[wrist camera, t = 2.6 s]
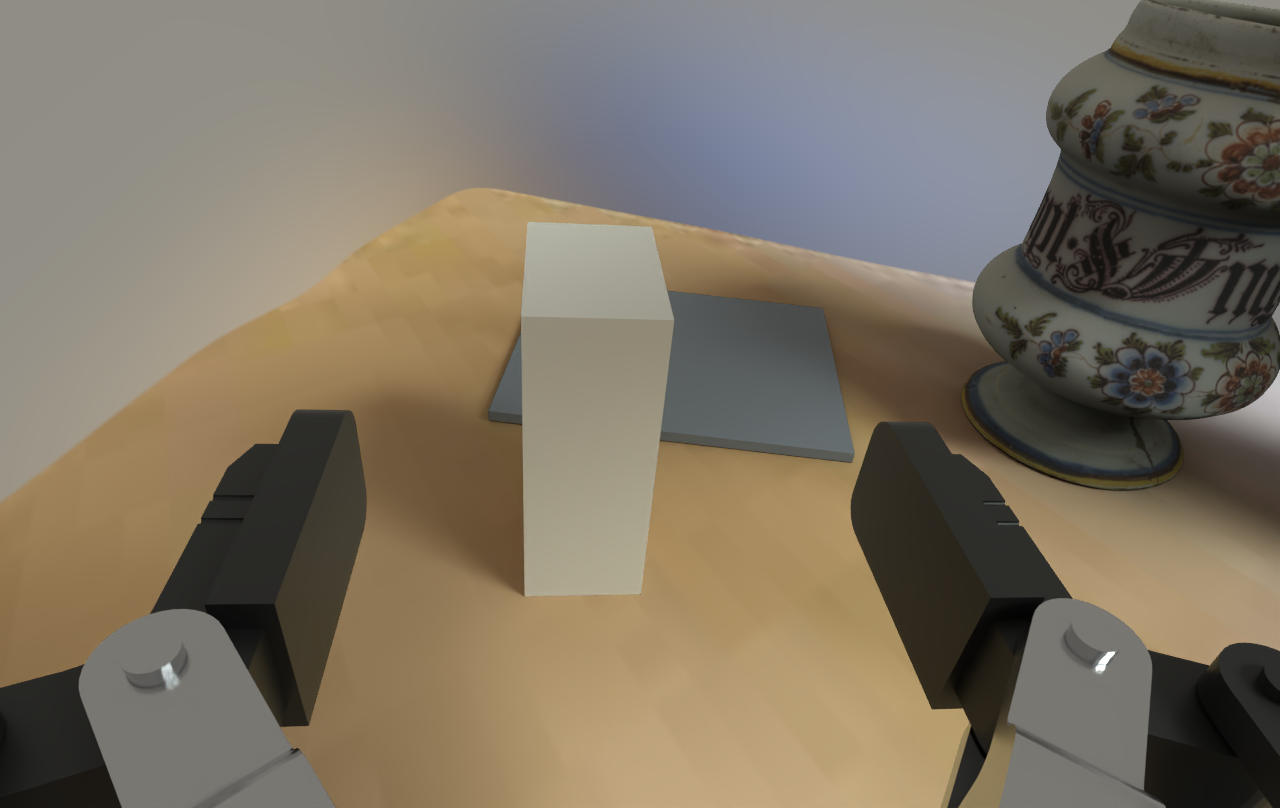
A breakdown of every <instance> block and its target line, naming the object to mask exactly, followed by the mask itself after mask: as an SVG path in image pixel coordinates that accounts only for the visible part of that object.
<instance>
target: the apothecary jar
mask: <svg viewBox="0 0 1280 808" xmlns="http://www.w3.org/2000/svg"><path fill="white" fill-rule="evenodd" d="M1046 122H1047V127H1048V130H1049V132H1050V135H1051V136H1052V138H1053V139H1054V141H1055V142H1056V143H1057V145H1058V146H1059V147H1060V148H1061V153H1060V157H1059V160H1058V163H1057V166H1056V169H1055V171H1054V174H1053V177H1052V179H1051V182H1050V184H1049V187H1048V189H1047V191H1046V193H1045V196H1044V198H1043V200H1042V203H1041V205H1040V207H1039V209H1038V212H1037V214H1036V216H1035V218H1034V220H1033V222H1032V224H1031V226H1030V228H1029V231H1028V233H1027V235H1026V237H1025V239H1024V241H1023V243H1022V244H1019V245H1017V246H1014V247H1012V248H1010V249H1008V250H1006V251H1004V252H1002V253H1001V254H999V255H998V256H996V257H995V258H994V259H993V260H992V261H990V262H989V263H988V264H987V266H986V267H985V268H984V269H983V271H982V272H981V274H980V275H979V277H978V279H977V281H976V284H975V287H974V291H973V301H972V304H973V312H974V316H975V319H976V321H977V324H978V326H979V328H980V330H981V332H982V334H983V335H984V337H985V339H986V340H987V341H988V343H989V344H990V345H991V346H992V348H993V349H994V350H995V351H996V352H997V353H998V354H999V355H1000V356H1001V357H1002V358H1003V359H1004V360H1006V361H1005V362H999V363H995V364H992V365H989V366H986V367H984V368H982V369H980V370H978V371H977V372H975V373H974V374H973V375H971V377H970V378H969V379H968V380H967V381H966V383H965V384H964V386H963V388H962V394H961V400H962V405H963V408H964V411H965V413H966V415H967V416H968V418H969V420H970V421H971V423H972V424H973V425H974V426H975V428H976V429H977V430H978V431H979V432H980V433H981V434H982V435H983V436H984V437H985V438H986V439H988V440H989V441H990V442H991V443H993V444H994V445H995V446H997V447H999V448H1000V449H1001V450H1003V451H1004V452H1006V453H1007V454H1008V455H1010V456H1012V457H1013V458H1015V459H1017V460H1019V461H1020V462H1022V463H1024V464H1026V465H1028V466H1030V467H1032V468H1034V469H1037V470H1039V471H1041V472H1044V473H1046V474H1049V475H1051V476H1054V477H1057V478H1060V479H1063V480H1066V481H1070V482H1073V483H1077V484H1081V485H1085V486H1090V487H1095V488H1102V489H1112V490H1137V489H1144V488H1149V487H1153V486H1158V485H1160V484H1162V483H1164V482H1166V481H1168V480H1170V479H1171V478H1173V477H1174V476H1175V475H1176V474H1177V473H1178V472H1179V470H1180V469H1181V466H1182V463H1183V448H1182V444H1181V442H1180V439H1179V437H1178V435H1177V433H1176V432H1175V430H1174V429H1173V427H1172V426H1171V425H1170V423H1169V422H1168V421H1167V420H1190V419H1200V418H1206V417H1212V416H1217V415H1222V414H1226V413H1230V412H1233V411H1236V410H1239V409H1241V408H1244V407H1246V406H1248V405H1249V404H1251V403H1252V402H1254V401H1255V400H1257V399H1258V398H1259V397H1260V396H1262V395H1263V394H1264V392H1265V391H1266V390H1267V389H1268V388H1269V387H1270V386H1271V384H1272V383H1273V381H1274V380H1275V378H1276V376H1277V374H1278V372H1279V369H1280V335H1279V331H1278V328H1277V326H1276V324H1275V322H1274V320H1273V318H1272V315H1273V313H1274V311H1275V310H1276V308H1277V306H1278V305H1279V303H1280V10H1278V9H1271V8H1264V7H1258V6H1251V5H1244V4H1236V3H1229V2H1221V1H1214V0H1141V1H1140V2H1139V4H1138V5H1137V7H1136V9H1135V10H1134V11H1133V13H1132V15H1131V17H1130V20H1129V22H1128V24H1127V26H1126V28H1125V29H1124V30H1123V31H1122V32H1121V33H1120V34H1119V35H1118V37H1117V38H1116V40H1115V41H1114V43H1113V44H1112V46H1111V48H1110V49H1108V50H1107V51H1105V52H1103V53H1100V54H1098V55H1096V56H1093V57H1091V58H1089V59H1088V60H1086V61H1084V62H1083V63H1081V64H1079V65H1078V66H1076V67H1075V68H1074V69H1072V70H1071V71H1070V72H1069V73H1067V74H1066V75H1065V76H1064V77H1063V78H1062V80H1061V81H1060V82H1059V83H1058V85H1057V86H1056V87H1055V89H1054V90H1053V92H1052V94H1051V96H1050V99H1049V102H1048V107H1047V112H1046Z"/></svg>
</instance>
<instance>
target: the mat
mask: <svg viewBox="0 0 1280 808" xmlns="http://www.w3.org/2000/svg"><path fill="white" fill-rule="evenodd" d="M667 292H668V296H669V300H670V305H671V309H672V313H673V317H674V327H673V335H672V343H671V351H670V359H669V368H668V376H667V384H666V392H665V400H664V409H663V417H662V425H661V433H660V440H663V441H672V442H680V443H689V444H697V445H706V446H715V447H723V448H732V449H740V450H749V451H758V452H766V453H775V454H783V455H792V456H801V457H809V458H818V459H826V460H835V461H844V462H852V460H853V457H854V454H855V453H854V448H853V444H852V439H851V435H850V430H849V426H848V421H847V416H846V412H845V407H844V403H843V398H842V393H841V389H840V384H839V380H838V375H837V370H836V366H835V361H834V357H833V352H832V348H831V343H830V338H829V334H828V329H827V325H826V320H825V315H824V311H823V308H817V307H808V306H800V305H791V304H782V303H773V302H764V301H755V300H746V299H737V298H728V297H719V296H710V295H701V294H692V293H683V292H674V291H667ZM488 416H489V420H491V421H500V422H508V423H517V424H522V354H521V334H520V336H519V338H518V341H517V343H516V346H515V348H514V350H513V353H512V355H511V358H510V360H509V362H508V365H507V367H506V370H505V372H504V374H503V377H502V379H501V382H500V384H499V387H498V389H497V391H496V394H495V396H494V399H493V401H492V403H491V406H490V408H489V411H488Z"/></svg>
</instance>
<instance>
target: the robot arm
mask: <svg viewBox="0 0 1280 808" xmlns="http://www.w3.org/2000/svg"><path fill="white" fill-rule="evenodd" d="M365 518H366V487H365V480H364V474H363V467H362V461H361V455H360V448H359V442H358V435H357V429H356V423H355V418H354V415H353V413H352V412H351V411H350V410H296V411H295V412H294V413H293V414H292V416H291V418H290V420H289V422H288V425H287V427H286V429H285V431H284V433H283V435H282V438H281V440H280V442H279V444H255V445H254V446H253V447H251V448H250V449H249V450H248V451H247V452H246V453H244V454H243V455H242V456H241V457H240V458H238V459H237V460H236V461H235V462H234V463H232V464H231V465H230V466H229V467H228V468H227V470H226V472H225V474H224V476H223V477H222V479H221V481H220V483H219V485H218V487H217V489H216V491H215V493H214V494H213V501H210V502H209V504H208V506H207V508H206V510H205V512H204V513H203V515H202V517H201V524H198V525H197V527H196V529H195V530H194V532H193V534H192V536H191V538H190V540H189V542H188V544H187V546H186V548H185V549H184V551H183V553H182V555H181V557H180V559H179V561H178V563H177V565H176V566H175V568H174V570H173V572H172V574H171V576H170V578H169V580H168V582H167V584H166V585H165V587H164V589H163V591H162V593H161V595H160V597H159V599H158V601H157V603H156V604H155V606H154V608H153V610H152V612H151V613H150V614H149V615H146V616H144V617H141V618H139V619H136V620H134V621H132V622H130V623H128V624H126V625H124V626H123V627H121V628H120V629H118V630H117V631H115V632H113V633H112V634H111V635H110V636H108V637H107V638H106V639H105V640H103V641H102V642H101V643H100V645H99V646H98V647H97V648H96V649H95V650H94V651H93V652H92V654H91V655H90V656H89V658H88V659H87V661H86V663H85V664H83V665H81V666H78V667H75V668H72V669H69V670H66V671H63V672H59V673H55V674H51V675H47V676H44V677H40V678H36V679H32V680H29V681H25V682H21V683H17V684H14V685H10V686H6V687H2V688H0V808H335V806H334V804H333V803H332V801H331V799H330V798H329V796H328V794H327V792H326V791H325V789H324V787H323V785H322V784H321V782H320V780H319V778H318V777H317V775H316V773H315V772H314V770H313V768H312V766H311V765H310V763H309V762H308V760H307V759H306V757H305V756H304V754H303V753H302V752H301V751H300V750H299V749H298V748H296V749H295V750H294V749H293V748H292V746H291V745H290V743H289V742H288V740H287V738H286V737H285V735H284V733H283V731H282V730H281V728H280V727H287V726H309V723H310V720H311V716H312V712H313V709H314V705H315V702H316V698H317V695H318V691H319V687H320V684H321V680H322V677H323V673H324V670H325V666H326V662H327V659H328V655H329V652H330V648H331V645H332V641H333V637H334V634H335V630H336V627H337V623H338V620H339V616H340V612H341V609H342V605H343V602H344V598H345V595H346V591H347V587H348V584H349V580H350V577H351V573H352V570H353V566H354V563H355V559H356V555H357V552H358V548H359V545H360V541H361V538H362V534H363V530H364V525H365ZM851 520H852V525H853V529H854V532H855V535H856V537H857V539H858V541H859V544H860V546H861V548H862V551H863V553H864V555H865V557H866V560H867V562H868V564H869V567H870V569H871V571H872V573H873V576H874V578H875V580H876V583H877V585H878V587H879V589H880V592H881V594H882V596H883V599H884V601H885V603H886V605H887V608H888V610H889V612H890V615H891V617H892V619H893V621H894V624H895V626H896V628H897V631H898V633H899V635H900V637H901V640H902V642H903V644H904V647H905V649H906V651H907V653H908V656H909V658H910V660H911V663H912V665H913V667H914V669H915V672H916V674H917V676H918V679H919V681H920V683H921V685H922V688H923V690H924V692H925V695H926V697H927V699H928V701H929V704H930V706H931V708H932V709H957V708H963V709H964V711H965V713H966V716H967V718H968V720H969V724H968V726H967V728H966V729H965V731H964V733H963V736H962V738H961V742H960V745H959V748H958V752H957V755H956V758H955V762H954V765H953V768H952V772H951V775H950V778H949V782H948V785H947V788H946V792H945V795H944V798H943V802H942V805H941V808H1280V651H1278V650H1276V649H1273V648H1270V647H1267V646H1263V645H1258V644H1253V643H1236V644H1232V645H1229V646H1227V647H1226V648H1224V649H1223V651H1222V652H1221V653H1220V654H1219V655H1218V657H1217V658H1216V659H1215V660H1214V661H1213V662H1212V664H1211V665H1210V666H1209V665H1205V664H1201V663H1197V662H1193V661H1189V660H1185V659H1181V658H1177V657H1173V656H1169V655H1165V654H1161V653H1157V652H1153V651H1150V650H1147V649H1146V647H1145V645H1144V644H1143V642H1142V641H1141V639H1140V638H1139V637H1138V636H1137V635H1136V634H1135V632H1134V631H1133V630H1132V629H1130V628H1129V627H1128V626H1127V625H1126V624H1125V623H1124V622H1122V621H1121V620H1120V619H1118V618H1117V617H1115V616H1114V615H1112V614H1111V613H1109V612H1107V611H1105V610H1103V609H1101V608H1099V607H1097V606H1095V605H1092V604H1090V603H1087V602H1084V601H1080V600H1075V599H1073V598H1072V597H1071V596H1070V594H1069V593H1068V591H1067V590H1066V588H1065V587H1064V585H1063V584H1062V582H1061V581H1060V580H1059V578H1058V577H1057V575H1056V574H1055V572H1054V571H1053V569H1052V568H1051V567H1050V565H1049V564H1048V562H1047V561H1046V559H1045V558H1044V556H1043V555H1042V553H1041V552H1040V551H1039V549H1038V548H1037V546H1036V545H1035V543H1034V542H1033V540H1032V539H1031V538H1030V536H1029V535H1028V533H1027V532H1026V530H1025V529H1024V527H1023V526H1019V520H1018V519H1017V517H1016V516H1015V514H1014V513H1013V511H1012V510H1011V509H1010V507H1009V506H1005V500H1004V498H1003V497H1002V495H1001V494H1000V493H999V491H998V490H997V488H996V487H995V485H994V484H993V482H992V481H991V480H990V478H989V477H988V476H987V475H986V474H985V473H984V472H982V471H981V470H980V469H979V468H977V467H976V466H975V465H974V464H972V463H971V462H970V461H969V460H967V459H966V458H965V457H964V456H962V455H961V454H952V453H951V452H950V450H949V449H948V447H947V446H946V444H945V443H944V441H943V440H942V438H941V437H940V435H939V434H938V432H937V431H936V429H935V428H934V426H933V425H931V424H930V423H927V422H880V423H879V424H878V425H877V426H876V427H875V429H874V431H873V434H872V437H871V440H870V443H869V446H868V449H867V452H866V455H865V458H864V461H863V464H862V467H861V470H860V473H859V476H858V479H857V482H856V485H855V488H854V491H853V494H852V499H851Z"/></svg>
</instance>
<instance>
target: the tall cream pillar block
mask: <svg viewBox="0 0 1280 808" xmlns="http://www.w3.org/2000/svg"><path fill="white" fill-rule="evenodd" d="M673 327H674V317H673V313H672V309H671V305H670V300H669V296H668V292H667V288H666V284H665V280H664V276H663V272H662V267H661V263H660V259H659V255H658V251H657V247H656V243H655V238H654V234H653V230H652V227H644V226H618V225H593V224H568V223H543V222H528V226H527V240H526V254H525V268H524V282H523V296H522V309H521V354H522V430H523V506H524V582H525V596H580V595H639V594H641V589H642V581H643V572H644V564H645V556H646V548H647V540H648V531H649V523H650V515H651V507H652V499H653V490H654V482H655V474H656V466H657V458H658V449H659V441H660V433H661V425H662V417H663V409H664V400H665V392H666V384H667V376H668V368H669V359H670V351H671V343H672V335H673Z"/></svg>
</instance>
